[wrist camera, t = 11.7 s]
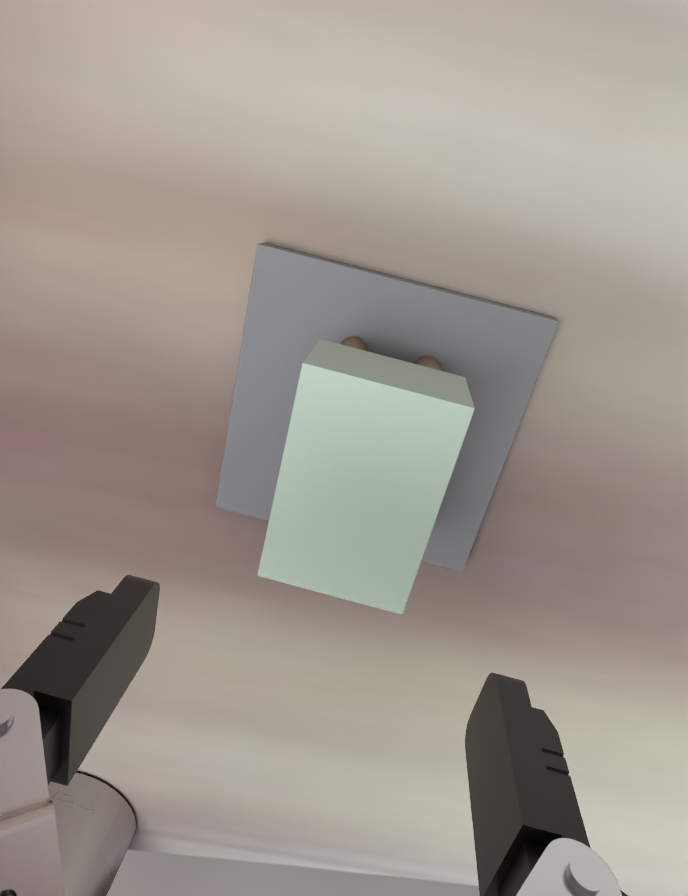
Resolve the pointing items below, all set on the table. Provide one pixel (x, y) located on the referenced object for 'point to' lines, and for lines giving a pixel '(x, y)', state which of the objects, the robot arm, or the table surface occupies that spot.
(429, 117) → the table surface
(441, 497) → the mint green toy brick
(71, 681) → the robot arm
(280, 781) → the table surface
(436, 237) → the table surface
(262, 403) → the mat
